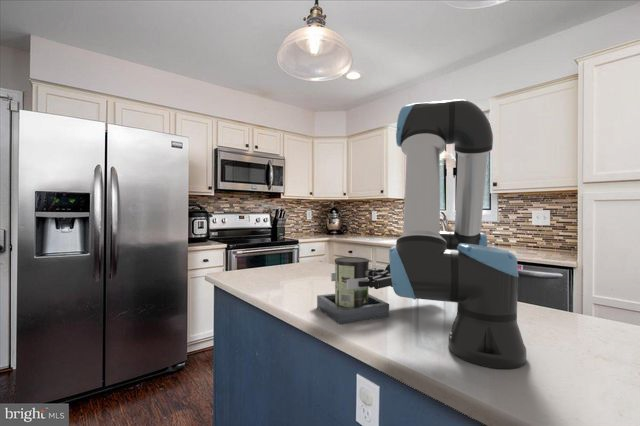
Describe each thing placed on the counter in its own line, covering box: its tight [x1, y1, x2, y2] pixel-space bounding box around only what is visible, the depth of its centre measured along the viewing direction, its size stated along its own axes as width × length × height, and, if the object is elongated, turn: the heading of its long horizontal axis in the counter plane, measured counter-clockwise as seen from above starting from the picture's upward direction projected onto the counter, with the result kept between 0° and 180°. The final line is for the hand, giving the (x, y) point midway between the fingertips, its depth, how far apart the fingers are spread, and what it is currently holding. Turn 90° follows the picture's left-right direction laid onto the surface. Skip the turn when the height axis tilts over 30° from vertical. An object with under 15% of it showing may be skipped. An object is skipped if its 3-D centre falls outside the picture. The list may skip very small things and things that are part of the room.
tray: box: [316, 293, 390, 325], centre depth 98 cm, size 16×16×4 cm
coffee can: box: [334, 256, 370, 308], centre depth 97 cm, size 10×10×14 cm
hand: (338, 280), depth 96 cm, fingers closed on coffee can, 10 cm apart
